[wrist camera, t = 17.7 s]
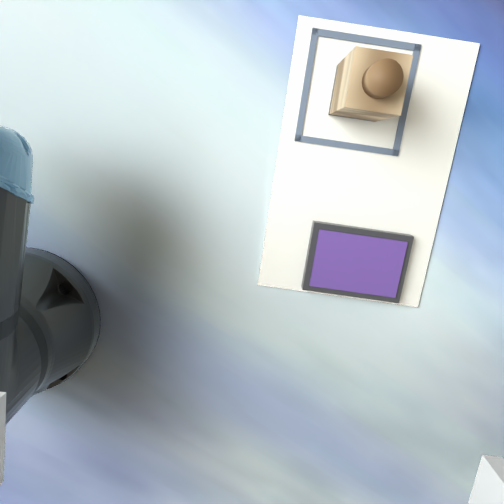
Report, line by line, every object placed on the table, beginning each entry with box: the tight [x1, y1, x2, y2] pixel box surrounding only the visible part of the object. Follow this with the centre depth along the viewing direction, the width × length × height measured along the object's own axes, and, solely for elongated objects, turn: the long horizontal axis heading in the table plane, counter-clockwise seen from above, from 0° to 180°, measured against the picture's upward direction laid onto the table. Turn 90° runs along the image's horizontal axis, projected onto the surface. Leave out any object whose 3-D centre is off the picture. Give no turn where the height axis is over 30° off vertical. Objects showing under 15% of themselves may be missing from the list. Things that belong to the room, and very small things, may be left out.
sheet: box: [258, 15, 480, 307], centre depth 45 cm, size 17×26×1 cm, turn 172°
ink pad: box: [301, 220, 414, 303], centre depth 46 cm, size 10×7×2 cm
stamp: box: [328, 46, 413, 122], centre depth 38 cm, size 4×4×10 cm
